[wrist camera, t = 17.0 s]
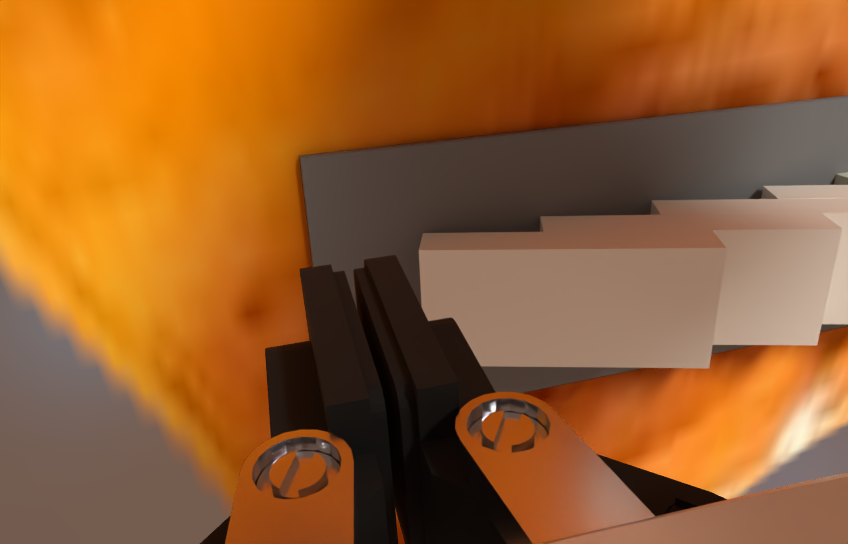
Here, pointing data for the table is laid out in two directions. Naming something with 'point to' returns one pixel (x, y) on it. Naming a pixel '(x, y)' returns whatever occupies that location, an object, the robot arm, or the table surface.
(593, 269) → the domino
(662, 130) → the mat
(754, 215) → the domino
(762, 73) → the table surface
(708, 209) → the domino
